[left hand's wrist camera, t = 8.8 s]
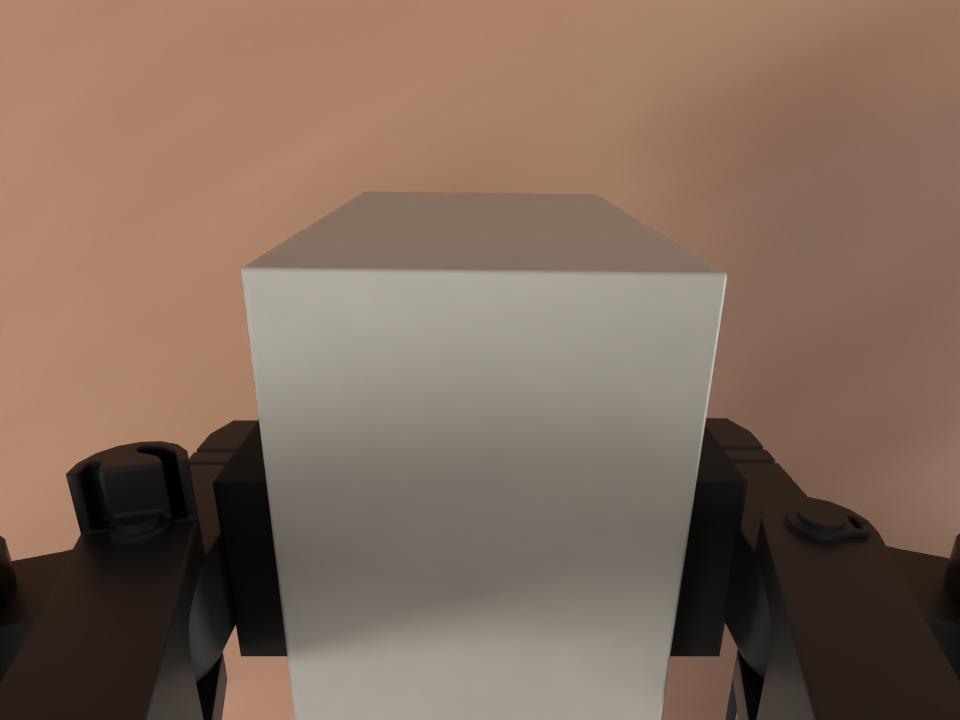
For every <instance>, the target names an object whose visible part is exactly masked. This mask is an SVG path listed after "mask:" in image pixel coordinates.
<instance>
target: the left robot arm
mask: <svg viewBox="0 0 960 720" xmlns="http://www.w3.org/2000/svg"><path fill="white" fill-rule="evenodd" d="M66 477H67V481H68V485H69V488H70V492H71V496H72V500H73V504H74V508H75V512H76V516H77V520H78V524H79V528H80V532H81V535H80V537H79V539H78V541H77V543H76V545H75V546H74V548H73V549H72V550H68V551H64V552H59V553H53V554H48V555H43V556H37V557H32V558H27V559H21V560H16V561H11V558H10V554H9V551H8V548H7V545H6V541H5V539H4V538H3V537H1V536H0V720H222V713H223V706H224V699H225V691H226V684H227V675H226V668H225V662H224V656H223V649H224V647H225V645H226V643H227V641H228V639H229V637H230V635H231V633H232V631H233V629H234V627H235V625H236V628H237V634H238V640H239V646H240V652H241V656H287V649H286V641H285V632H284V624H283V616H282V607H281V599H280V591H279V582H278V574H277V566H276V557H275V549H274V541H273V532H272V524H271V516H270V507H269V499H268V491H267V483H266V474H265V466H264V458H263V449H262V441H261V433H260V424H259V421H232V422H230V423H229V424H227V425H225V426H223V427H222V428H220V429H218V430H216V431H215V432H213V433H211V434H210V435H209V436H208V437H207V439H206V440H205V441H204V442H203V443H202V444H201V445H200V447H199V448H198V449H197V452H194V453H193V455H192V456H191V457H190V458H189V459H188V453H187V451H186V450H185V449H184V448H182V447H181V446H179V445H178V444H173V443H167V442H162V441H158V442H138V443H132V444H127V445H121V446H117V447H114V448H111V449H108V450H105V451H102V452H99V453H96V454H94V455H92V456H90V457H88V458H87V459H85V460H83V461H81V462H79V463H77V464H76V465H75V466H74V467H73V468H72V469H71V470H70V471H69V472H68V473H67V474H66ZM725 623H726V625H727V627H728V629H729V631H730V633H731V635H732V637H733V639H734V641H735V643H736V645H737V647H738V650H737V656H736V662H735V667H734V673H733V679H732V684H731V690H730V696H729V701H728V707H727V713H726V720H735V717H736V711H737V712H738V719H739V720H960V534H959V535H958V536H957V537H956V540H955V543H954V546H953V550H952V553H951V556H950V558H945V557H939V556H934V555H928V554H923V553H918V552H912V551H907V550H901V549H896V548H892V547H888V546H886V545H885V543H884V542H883V540H882V538H881V536H880V534H879V533H878V532H877V530H876V529H875V528H874V527H873V526H872V525H871V524H870V523H869V521H867V520H866V519H864V518H863V517H861V516H859V515H858V514H856V513H855V512H853V511H852V510H850V509H847V508H844V507H842V506H839V505H837V504H834V503H832V502H829V501H824V500H820V499H815V498H810V497H807V496H806V494H805V493H804V492H803V491H802V490H801V489H800V488H799V487H798V485H797V484H796V483H795V482H794V481H793V480H792V479H791V477H790V476H789V475H788V474H787V473H786V472H785V471H784V470H783V468H782V467H781V466H780V465H779V464H778V463H775V459H774V458H773V457H772V456H771V455H770V454H769V453H768V451H767V450H764V447H763V446H762V445H761V443H760V442H759V441H758V440H757V439H756V438H755V437H754V435H753V434H752V433H751V432H750V431H748V430H746V429H745V428H743V427H741V426H739V425H737V424H736V423H734V422H732V421H730V420H729V419H727V418H706V421H705V427H704V434H703V441H702V447H701V454H700V461H699V467H698V474H697V481H696V487H695V494H694V501H693V507H692V514H691V521H690V527H689V534H688V541H687V547H686V554H685V560H684V567H683V574H682V580H681V587H680V594H679V600H678V607H677V614H676V620H675V627H674V634H673V640H672V647H671V654H670V656H719V655H720V649H721V643H722V637H723V631H724V625H725Z"/></svg>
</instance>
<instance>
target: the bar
mask: <svg viewBox="0 0 960 720" xmlns="http://www.w3.org/2000/svg"><path fill="white" fill-rule="evenodd" d="M241 275H242V283H243V291H244V299H245V308H246V316H247V324H248V333H249V341H250V349H251V358H252V366H253V374H254V383H255V391H256V399H257V408H258V416H259V424H260V433H261V441H262V449H263V458H264V466H265V474H266V483H267V491H268V499H269V507H270V516H271V524H272V532H273V541H274V549H275V557H276V566H277V574H278V582H279V591H280V599H281V607H282V616H283V624H284V632H285V641H286V649H287V657H288V666H289V674H290V682H291V691H292V699H293V707H294V716H295V720H661V713H662V707H663V700H664V694H665V687H666V680H667V674H668V667H669V660H670V654H671V647H672V640H673V634H674V627H675V620H676V614H677V607H678V600H679V594H680V587H681V580H682V574H683V567H684V560H685V554H686V547H687V541H688V534H689V527H690V521H691V514H692V507H693V501H694V494H695V487H696V481H697V474H698V467H699V461H700V454H701V447H702V441H703V434H704V427H705V421H706V414H707V408H708V401H709V394H710V388H711V381H712V374H713V368H714V361H715V354H716V348H717V341H718V334H719V328H720V321H721V314H722V308H723V301H724V294H725V288H726V281H727V275H726V273H725V272H723V271H722V270H720V269H718V268H717V267H715V266H713V265H712V264H710V263H708V262H707V261H705V260H703V259H702V258H700V257H699V256H697V255H695V254H694V253H692V252H690V251H689V250H687V249H685V248H684V247H682V246H681V245H679V244H677V243H676V242H674V241H672V240H671V239H669V238H667V237H666V236H664V235H663V234H661V233H659V232H658V231H656V230H654V229H653V228H651V227H649V226H648V225H646V224H645V223H643V222H641V221H640V220H638V219H636V218H635V217H633V216H631V215H630V214H628V213H627V212H625V211H623V210H622V209H620V208H618V207H617V206H615V205H613V204H612V203H610V202H608V201H607V200H605V199H604V198H602V197H600V196H599V195H587V194H506V193H425V192H364V193H362V194H360V195H359V196H357V197H355V198H354V199H352V200H351V201H349V202H347V203H346V204H344V205H343V206H341V207H339V208H338V209H336V210H335V211H333V212H331V213H330V214H328V215H326V216H325V217H323V218H322V219H320V220H318V221H317V222H315V223H314V224H312V225H310V226H309V227H307V228H306V229H304V230H302V231H301V232H299V233H297V234H296V235H294V236H293V237H291V238H289V239H288V240H286V241H285V242H283V243H281V244H280V245H278V246H277V247H275V248H273V249H272V250H270V251H268V252H267V253H265V254H264V255H262V256H260V257H259V258H257V259H256V260H254V261H252V262H251V263H249V264H248V265H246V266H244V267H243V268H242V270H241Z"/></svg>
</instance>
